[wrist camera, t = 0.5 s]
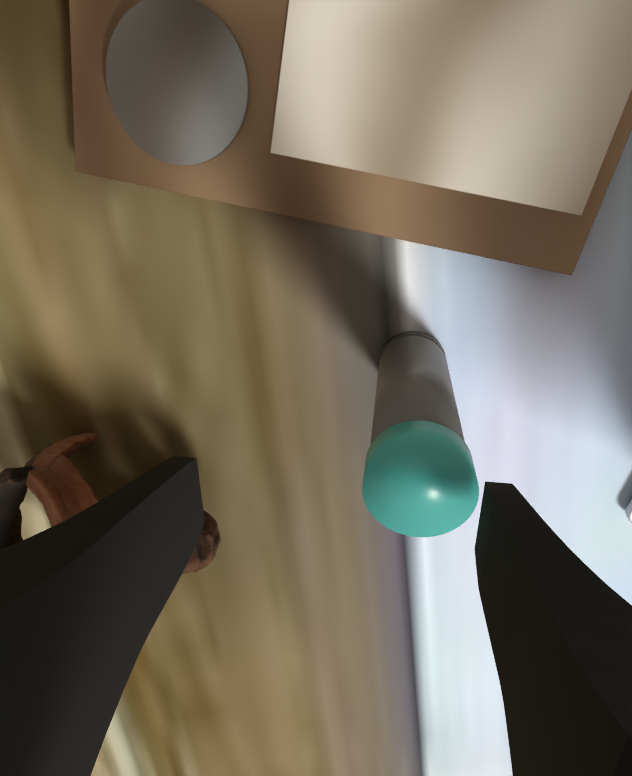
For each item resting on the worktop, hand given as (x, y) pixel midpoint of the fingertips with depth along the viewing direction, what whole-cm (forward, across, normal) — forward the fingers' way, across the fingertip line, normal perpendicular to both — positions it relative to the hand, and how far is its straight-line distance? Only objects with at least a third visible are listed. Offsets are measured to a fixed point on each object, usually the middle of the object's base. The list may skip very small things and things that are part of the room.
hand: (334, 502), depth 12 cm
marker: (+10, -2, 0) cm, 10 cm away
